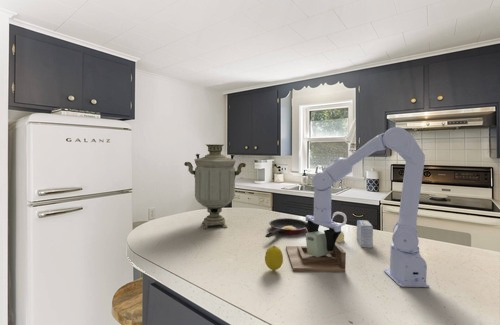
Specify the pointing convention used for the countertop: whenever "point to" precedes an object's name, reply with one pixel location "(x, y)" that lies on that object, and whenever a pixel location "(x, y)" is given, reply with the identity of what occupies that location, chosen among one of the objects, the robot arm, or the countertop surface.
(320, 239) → the pale green block
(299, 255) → the brown wooden stand
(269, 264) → the lemon
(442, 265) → the countertop surface
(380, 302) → the countertop surface
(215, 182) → the samovar
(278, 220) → the frying pan
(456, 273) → the countertop surface
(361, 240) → the medicine box
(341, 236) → the yellow stemmed oval
